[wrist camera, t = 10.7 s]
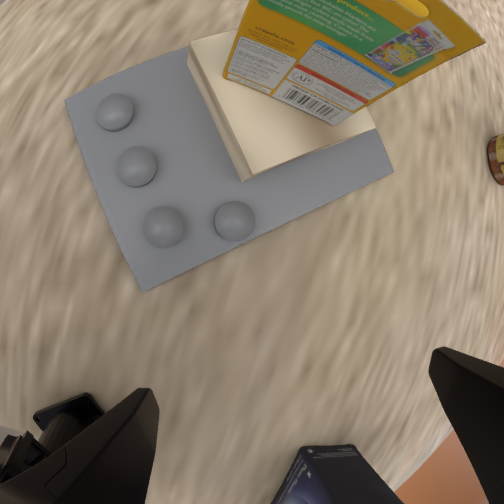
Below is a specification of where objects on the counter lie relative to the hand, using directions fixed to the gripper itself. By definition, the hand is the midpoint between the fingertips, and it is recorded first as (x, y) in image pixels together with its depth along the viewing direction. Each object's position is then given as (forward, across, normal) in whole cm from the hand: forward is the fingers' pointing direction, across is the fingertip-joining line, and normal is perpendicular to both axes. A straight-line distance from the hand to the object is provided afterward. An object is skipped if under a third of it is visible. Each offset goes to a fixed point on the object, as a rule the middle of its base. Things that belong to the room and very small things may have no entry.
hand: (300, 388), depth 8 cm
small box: (+10, -2, +22) cm, 25 cm away
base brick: (+14, -2, -11) cm, 18 cm away
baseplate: (+14, +1, -9) cm, 17 cm away
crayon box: (+11, -2, -11) cm, 16 cm away
